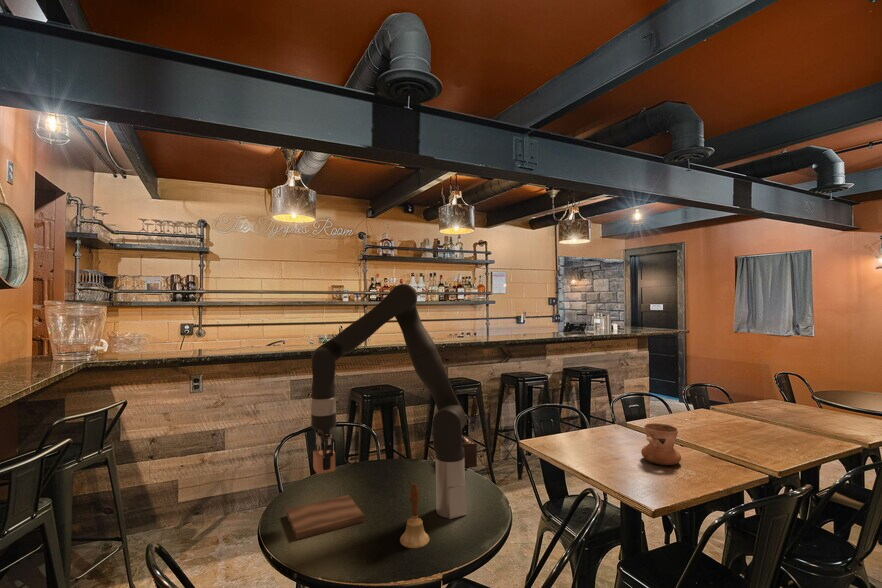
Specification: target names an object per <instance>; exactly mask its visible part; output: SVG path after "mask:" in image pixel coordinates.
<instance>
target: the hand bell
mask: <svg viewBox="0 0 882 588" xmlns="http://www.w3.org/2000/svg"><path fill="white" fill-rule="evenodd" d="M419 498H420V492H419V488H418V484H417V482H412V483H411V486H410V490H409V500H410V503H411V517H410V518H408V519H407V520H406V526H405V531H404V532H403V533H402V534H401V536H400V539H399V543H400V544H401V545H402V546H403V547H405V548H408V549H419V548H423V547H425V546H427V545H428V544H429V542H430V537H429V534H428V533H426V531H425V528H424V524H423V522H424V521H423V520H422V518H421V517H419V516H418V514H419V513H418V504H419V501H420V500H419Z"/></svg>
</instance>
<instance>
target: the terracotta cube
mask: <svg viewBox="0 0 882 588" xmlns="http://www.w3.org/2000/svg"><path fill="white" fill-rule="evenodd" d="M327 453H329V451H327ZM312 457H313V458H312V461H313V462H312V466H313V470H314V471H315V473H316V474H317V475H321V474H326V473H331V472H336V452H335V450H333V456H332V457H331V468H330V469H329V470H323V457H322V450H317V449H314V450H312Z"/></svg>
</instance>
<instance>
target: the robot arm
mask: <svg viewBox="0 0 882 588" xmlns="http://www.w3.org/2000/svg"><path fill="white" fill-rule="evenodd" d="M417 301H418V295H417V291H416V289H415V288H414V287H413V286H411V285H409V284H407V283H406V284H405V283H401V284H397V285H396V286H394V287H393V288H392V289H391V291H390V292H389V293H388V294H387V295H386V296H385V297H383V299H382V300H381V301H380V302H378V304H376V305H375V306H374V307H373V308H372V309H370V310H369V311H368V312H367V313H365V314H364V315H362V316H361V317H359V318H358V319H356V320H355V321H354V322H353V323H351V324H349V325H348V326H346V328H344V329H342V330H341V331H340V332H339V333H337V334H336V335H335V336H334V337H332V338H331V339H329V340H328V341H326V342H324V343H323V344H321V345H320V346H318V347H317V348H316V349H315V350H314V351H313V352H312V354H311V358H310V360H311V374H312V383H311V404H310V420H311V421H310V422H311V423H310V424H311V427H310V428H312V429H313V430H314V432H315V433H314V434H315V447H316V450H322V457H323V470H329V469H330V468H331V457H332V456H333V451H334V441H335V440H334V437H333V434H332V432H331V429H333V428H335V427H336V426H337V401H336V400H337V399H336V385H335V384H336V383H335V382H336V381H335V377H336V376H335V374H336V361H338V360H339V359H340V358H342V357H343V356H345V355H346V354H349V353H352V352H353V351H354V350H355V349H356V348H358V347H359V346H361V345H362V344H364V343H365V342H366V341H367V340H368V339H369V338H371V336H373V335H374V334H375V333H376V332H377V331H378V330H379V329H380V328H381V327H383V326H384V325H385V324H386V323H388V322H389V321H391V320H392V319H393V318H395V320H396V321H397V323H398V325H399V327H400V331H401V332H402V335H403V339H404V343H405V346H406V350H407V352H408V354H409V359H410V360H411V363H412V366H413V368H414V371H415V373H416V374H417V375H416V376H418V378H419V379H420V381H421V382H422V383H423V384H424V386H425V388H426V389H427V390H428V391H429V393H430V394H431V397H432V398H433V401H434V404H435V406H436V409H437V411H436V413H435V415H434V416H433V419H432V443H433V449H434V453H435V497H436V499H435V501H436V502H435V504H436V506H435V508H436V509H435V510H436V514H437V515H438V516H440V517H442V518H447V519H449V520H453V519H456V518H460V517H462V516H463V517H464V516H466V515H467V484H466V480H465V479H466V478H465V473H466V471H465V469H466V468H465V463H464V448H463V447H462V440H461V430H462V429H464V427H465V426H466V425H465V422H467V421H466V416H465V414H466V413H465V411H464V409H463V406H462V404H461V403H460V401H459V399H458V397H457V394H456V393H455V391H454V390H453V388H452V385H451V382H450V380H449V377H448V373H447V371H446V369H445V366H444V363H443V361H442V357H441V356H440V353H439V350H438V348H437V346H436V344H435V341H434V340H433V339H432V337H431V335H430V334H429V332H428V331H427V330H426V328H425V326H424V324H423V323H422V320H421V318H420V314H419V312H418V308H417V305H416V304H417ZM464 425H465V426H464ZM462 431H463V430H462ZM327 451H329V453H327Z"/></svg>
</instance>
